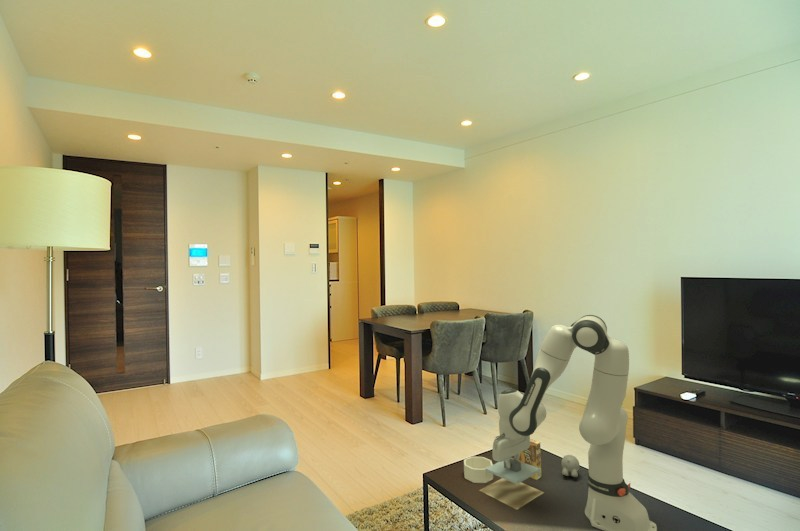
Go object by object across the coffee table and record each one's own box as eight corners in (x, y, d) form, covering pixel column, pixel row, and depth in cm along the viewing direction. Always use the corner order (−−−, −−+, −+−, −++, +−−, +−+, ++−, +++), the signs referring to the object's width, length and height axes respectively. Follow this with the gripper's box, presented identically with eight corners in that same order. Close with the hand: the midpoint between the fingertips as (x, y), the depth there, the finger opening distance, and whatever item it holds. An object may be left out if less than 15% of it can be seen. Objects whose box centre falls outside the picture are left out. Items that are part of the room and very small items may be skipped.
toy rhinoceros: (580, 477, 184) (581, 456, 187) (578, 478, 174) (578, 456, 177) (563, 474, 187) (564, 453, 190) (559, 474, 177) (560, 453, 180)
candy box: (541, 477, 179) (540, 441, 179) (536, 481, 176) (535, 444, 176) (523, 470, 186) (522, 435, 186) (517, 474, 183) (517, 438, 183)
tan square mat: (544, 493, 167) (544, 492, 167) (516, 511, 155) (516, 509, 155) (506, 476, 181) (506, 475, 181) (479, 491, 169) (479, 490, 169)
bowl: (498, 477, 180) (498, 463, 180) (480, 487, 173) (479, 472, 173) (476, 467, 190) (476, 454, 190) (458, 476, 182) (458, 462, 182)
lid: (540, 471, 166) (539, 460, 167) (517, 484, 157) (516, 473, 157) (508, 459, 178) (508, 449, 178) (485, 471, 169) (485, 460, 169)
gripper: (500, 440, 159) (502, 477, 159) (532, 426, 172) (534, 460, 171) (487, 435, 164) (489, 471, 164) (519, 422, 177) (520, 455, 176)
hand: (512, 465), depth 168 cm, fingers closed on lid, 3 cm apart
